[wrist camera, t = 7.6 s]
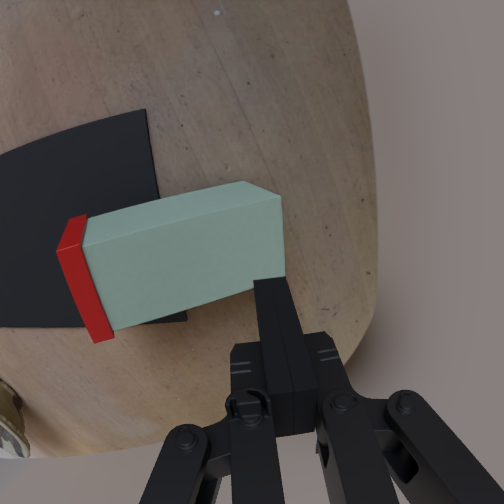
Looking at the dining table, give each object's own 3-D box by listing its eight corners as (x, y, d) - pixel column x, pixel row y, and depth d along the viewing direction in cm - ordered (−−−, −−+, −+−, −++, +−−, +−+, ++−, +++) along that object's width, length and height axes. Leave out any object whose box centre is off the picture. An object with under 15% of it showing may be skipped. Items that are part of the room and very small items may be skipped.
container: (283, 192, 19) (55, 251, 14) (288, 282, 22) (93, 344, 17) (241, 176, 25) (69, 218, 20) (249, 249, 28) (94, 294, 23)
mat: (145, 108, 21) (144, 108, 21) (187, 318, 30) (187, 321, 30) (-63, 187, 21) (-65, 188, 21) (-11, 324, 30) (-13, 326, 29)
